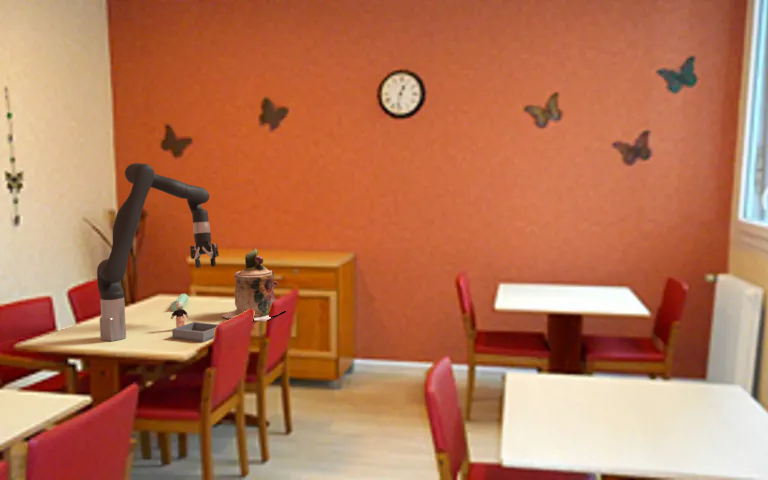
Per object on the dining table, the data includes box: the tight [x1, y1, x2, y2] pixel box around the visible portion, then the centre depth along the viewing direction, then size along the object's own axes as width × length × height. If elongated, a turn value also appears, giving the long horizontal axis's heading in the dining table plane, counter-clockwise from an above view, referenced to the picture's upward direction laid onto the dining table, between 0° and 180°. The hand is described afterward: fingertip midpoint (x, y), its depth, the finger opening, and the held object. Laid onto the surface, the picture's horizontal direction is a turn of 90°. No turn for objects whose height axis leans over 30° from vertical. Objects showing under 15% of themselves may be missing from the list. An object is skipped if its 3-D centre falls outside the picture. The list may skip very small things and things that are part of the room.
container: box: [170, 293, 189, 312], centre depth 347 cm, size 6×6×25 cm
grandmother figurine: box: [170, 302, 190, 328], centre depth 297 cm, size 8×4×13 cm, turn 132°
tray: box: [171, 321, 219, 343], centre depth 286 cm, size 14×16×4 cm
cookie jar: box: [221, 248, 279, 322], centre depth 325 cm, size 25×25×32 cm
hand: (205, 267), depth 310 cm, fingers open, 8 cm apart
